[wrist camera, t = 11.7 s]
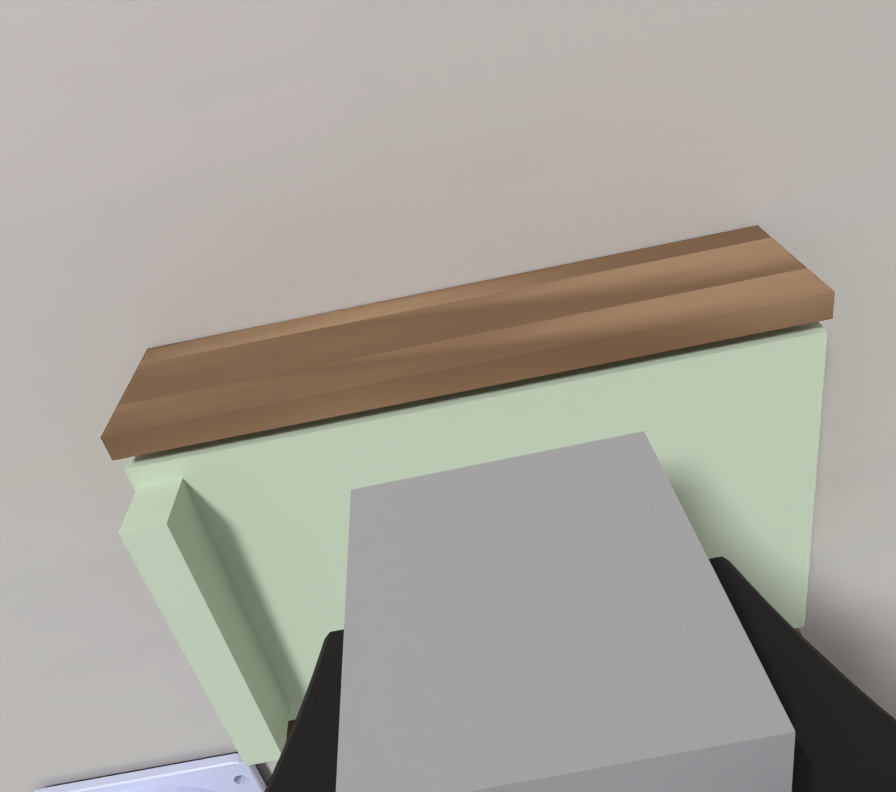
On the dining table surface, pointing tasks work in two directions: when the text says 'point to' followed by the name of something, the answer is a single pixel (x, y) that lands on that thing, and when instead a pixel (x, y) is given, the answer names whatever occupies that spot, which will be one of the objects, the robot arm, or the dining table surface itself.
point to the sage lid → (450, 447)
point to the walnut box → (464, 340)
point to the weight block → (547, 637)
